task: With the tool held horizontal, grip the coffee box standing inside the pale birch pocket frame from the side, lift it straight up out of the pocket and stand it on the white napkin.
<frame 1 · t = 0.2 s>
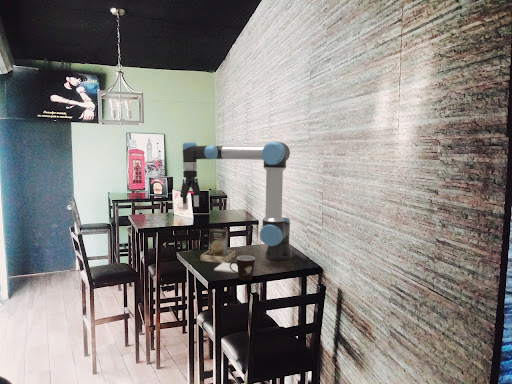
hand: (191, 208, 216), 27 cm above the table, tool pointing down, fingers open, 13 cm apart
coffee mug: (242, 279, 180), on the table
white napkin: (231, 268, 195), on the table
coffee box: (218, 258, 213), resting in pocket frame
pocket frame: (218, 258, 213), on the table
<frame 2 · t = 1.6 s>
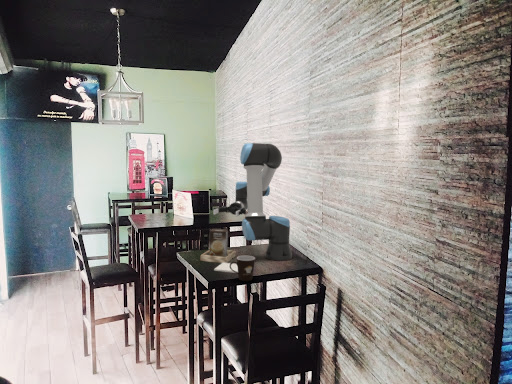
hand: (225, 213, 220), 24 cm above the table, tool horizontal, fingers open, 13 cm apart
nothing on the table moved.
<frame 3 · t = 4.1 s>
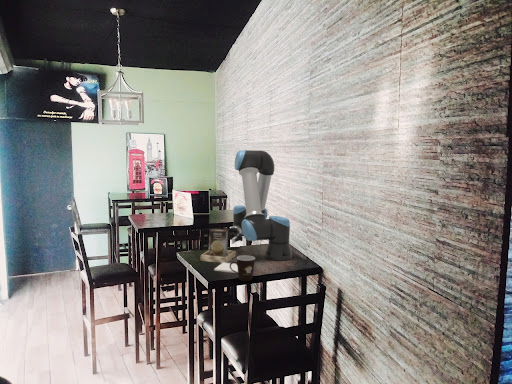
hand: (221, 240, 218), 9 cm above the table, tool horizontal, fingers open, 13 cm apart
nothing on the table moved.
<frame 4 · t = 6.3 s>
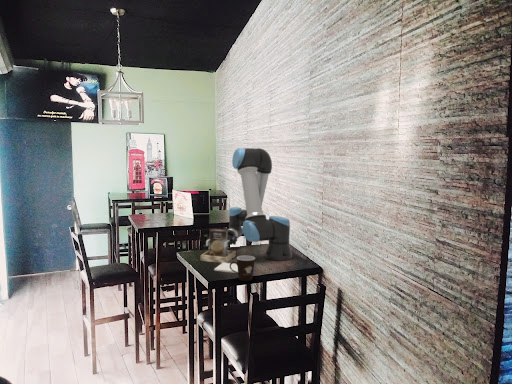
hand: (215, 244, 208), 9 cm above the table, tool horizontal, fingers closed on coffee box, 10 cm apart
coffee box: (218, 258, 213), resting in pocket frame, touching gripper
everything else where it was.
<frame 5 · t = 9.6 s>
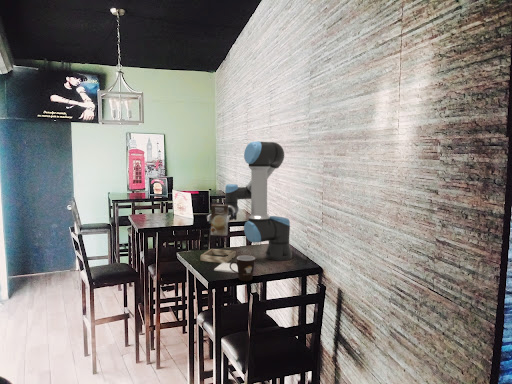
hand: (217, 219, 203), 23 cm above the table, tool horizontal, fingers closed on coffee box, 10 cm apart
coffee box: (219, 234, 208), point 14 cm above the table, touching gripper
everything else where it was.
when the fingers open (11 cm above the table, at t = 13.0 s): coffee box drops 2 cm, resting on white napkin.
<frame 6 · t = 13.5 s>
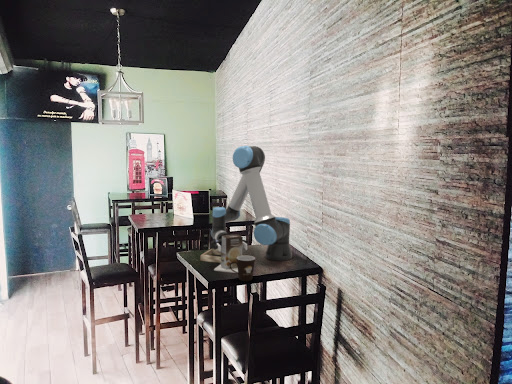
hand: (233, 248, 191), 12 cm above the table, tool horizontal, fingers open, 13 cm apart
coffee box: (231, 267, 195), point 1 cm above the table, touching white napkin
everything else where it was.
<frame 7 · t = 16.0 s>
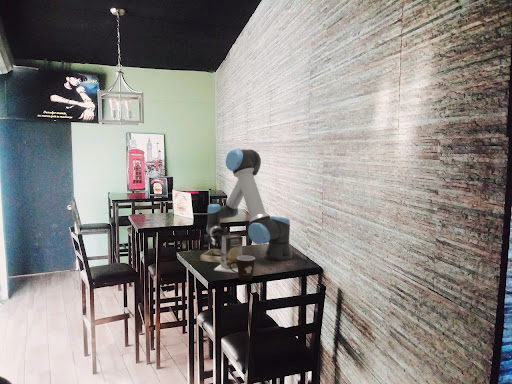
hand: (226, 241, 203), 12 cm above the table, tool horizontal, fingers open, 13 cm apart
nothing on the table moved.
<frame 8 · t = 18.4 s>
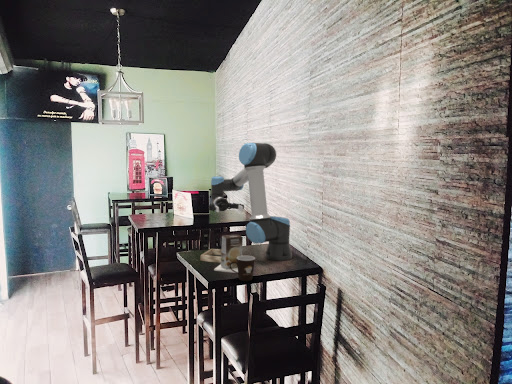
hand: (230, 209, 208), 28 cm above the table, tool horizontal, fingers open, 13 cm apart
nothing on the table moved.
at the end: coffee box inside the target area on the white napkin (0.1 cm from its centre), point 0.6 cm above the white napkin's base; coffee box tilted 0°; the gripper is holding nothing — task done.
